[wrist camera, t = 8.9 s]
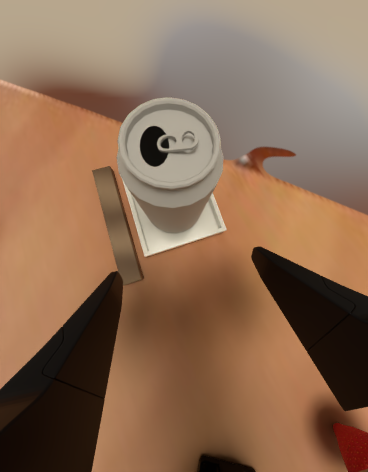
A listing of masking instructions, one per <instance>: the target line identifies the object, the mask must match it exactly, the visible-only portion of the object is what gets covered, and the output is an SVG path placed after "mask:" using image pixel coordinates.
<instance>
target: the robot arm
mask: <svg viewBox="0 0 368 472" xmlns="http://www.w3.org/2000/svg"><path fill="white" fill-rule="evenodd" d="M251 258H252V261H253V263H254V265H255V267H256V269H257V271H258V273H259V275H260V277H261V279H262V281H263V282H264V284H265V286H266V287H267V289H268V290H269V292H270V293H271V295H272V297H273V298H274V300H275V301H276V303H277V305H278V306H279V308H280V309H281V311H282V313H283V314H284V316H285V317H286V319H287V321H288V322H289V324H290V325H291V327H292V329H293V330H294V332H295V333H296V335H297V337H298V338H299V340H300V341H301V343H302V345H303V346H304V348H305V349H306V351H307V353H308V354H309V356H310V358H311V359H312V361H313V362H314V364H315V366H316V367H317V369H318V370H319V372H320V373H321V375H322V377H323V378H324V380H325V381H326V383H327V385H328V386H329V388H330V389H331V391H332V393H333V394H334V396H335V397H336V399H337V401H338V402H339V404H340V405H341V407H342V408H343V410H344V411H349V410H354V409H359V408H364V407H368V296H366V295H363V294H361V293H359V292H356V291H354V290H352V289H349V288H347V287H345V286H342V285H340V284H338V283H336V282H334V281H331V280H329V279H327V278H325V277H323V276H320V275H319V274H317V273H315V272H313V271H310V270H308V269H306V268H304V267H302V266H300V265H298V264H296V263H294V262H292V261H290V260H287V259H285V258H283V257H281V256H279V255H277V254H275V253H273V252H271V251H269V250H267V249H265V248H262V247H254V248H253V252H252V256H251ZM122 293H123V279H122V277H121V275H120V273H119V272H118V271H115V272H111V273H110V274H109V275H108V276H107V277H106V278H105V280H104V281H103V282H102V283H101V284H100V285H99V286H98V287H97V288H96V289H95V291H94V292H93V293H92V294H91V295H90V296H89V297H88V298H87V299H86V301H85V302H84V303H83V304H82V305H81V306H80V307H79V308H78V309H77V310H76V312H75V313H74V314H73V315H72V316H71V317H70V318H69V319H68V320H67V322H66V323H65V324H64V325H63V327H61V328H60V329H59V330H58V331H57V332H56V334H55V335H54V336H53V337H52V338H51V339H50V340H49V341H48V342H47V343H46V344H45V345H44V346H43V347H42V348H41V349H40V350H39V351H38V352H37V353H36V355H35V356H34V357H33V358H32V359H31V360H30V361H29V362H27V363H26V364H25V365H24V366H23V367H22V368H21V369H20V370H19V371H18V372H17V373H16V374H15V375H14V376H13V377H12V378H11V379H10V380H9V381H8V382H7V383H6V384H5V385H4V386H3V387H2V388H1V389H0V472H91V471H92V466H93V460H94V455H95V449H96V444H97V439H98V433H99V428H100V422H101V417H102V411H103V406H104V400H105V399H104V398H105V394H106V389H107V383H108V378H109V372H110V367H111V361H112V356H113V350H114V345H115V340H116V334H117V329H118V323H119V318H120V312H121V306H122ZM204 463H205V464H204ZM197 472H256V471H255V470H254V469H252V468H248V467H245V466H241V465H237V464H234V463H230V462H226V461H223V460H219V459H216V458H212V457H208V456H202V457H201V458H200V460H199V465H198V470H197ZM359 472H368V469H366V470H362V471H359Z"/></svg>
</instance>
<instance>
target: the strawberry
mask: <svg viewBox="0 0 368 472" xmlns="http://www.w3.org/2000/svg"><path fill="white" fill-rule="evenodd" d="M333 430H334V433H335V435H336V438H337V441H338V445H339V449H340V452H341V454H342V457H343V460H344V462H345V465H346V467H347V470H348V472H359V471H362V470H366V469H368V433H367V432H364V431H362V430H359V429H357V428H354V427H351V426H346V425H342V424H340V423H335V424H334V425H333Z"/></svg>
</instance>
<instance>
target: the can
mask: <svg viewBox="0 0 368 472" xmlns="http://www.w3.org/2000/svg"><path fill="white" fill-rule="evenodd" d="M220 145H221V139H220V135H219V132H218V128H217V126H216V124H215V123H214V122H213V120H212V119H211V117H210V116H209V115H208V114H207V113H206V112H205V111H203V110H202V109H201V108H200V107H198V106H197V105H195V104H192V103H190V102H188V101H185V100H183V99H176V98H169V97H168V98H160V99H153V100H151V101H148V102H146V103H143V104H141V105H139V106H138V107H137V108H136V109H134V111H132V112H131V113H130V114H128V116H127V118H126V119H125V121H124V122H123V124H122V125H121V127H120V132H119V137H118V147H119V149H118V154H117V163H118V169H119V174H120V176H121V178H122V179H123V181H124V183H125V185H126V187H127V188H128V190H129V191H130V193H131V194H132V195H133V197H134V198H135V200H136V201H137V203H138V204H139V206H140V207H141V208H142V210H143V211H144V213H145V214H146V216H147V217H148V219H149V220H150V221H151V223H152V224H153V225H154V226H156V227H157V228H158V229H160V230H162V231H164V232H167V233H180V232H184V231H186V230H188V229H190V228H191V227H192V226H193V225H194V224H195V223H196V222H197V221H198V219H199V217H200V215H201V213H202V212H203V210H204V208H205V206H206V204H207V202H208V200H209V198H210V196H211V194H212V193H213V191H214V189H215V187H216V185H217V183H218V180H219V178H220V176H221V173H222V171H223V153H222V149H221V146H220Z"/></svg>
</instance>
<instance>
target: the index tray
mask: <svg viewBox="0 0 368 472" xmlns="http://www.w3.org/2000/svg"><path fill="white" fill-rule="evenodd" d="M122 180H123V179H122ZM123 183H124V181H123ZM124 187H125V190H126V193H127V197H128V200H129V204H130V207H131V211H132V214H133V218H134V221H135V225H136V228H137V232H138V235H139V238H140V242H141V245H142V249H143V252H144V256H145V257H149V256H152V255H155V254H158V253H161V252H164V251H167V250H170V249H173V248H176V247H179V246H183V245H186V244H189V243H192V242H195V241H198V240H201V239H204V238H207V237H210V236H213V235H216V234H219V233H222V232H224V231H226V230H227V229H226V227H225V224H224V222H223V219H222V216H221V214H220V211H219V208H218V206H217V203H216V201H215V198H214V195H213V193H212V194H211V196H210V198H209V200H208V202H207V204H206V206H205V208H204V210H203V212H202V213H201V215H200V217H199V219H198V221H197V222H196V223H195V224H194V225H193V226H192V227H191V228H190V229H188V230H186V231H184V232H180V233H167V232H164V231H162V230H160V229H158V228H157V227H156V226H154V225H153V224H152V223H151V221H150V220H149V219H148V217H147V216H146V214H145V213H144V211H143V210H142V208H141V207H140V206H139V204H138V203H137V201H136V200H135V198H134V197H133V195H132V194H131V193H130V191H129V190H128V188H127V187H126V185H125V183H124Z"/></svg>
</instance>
